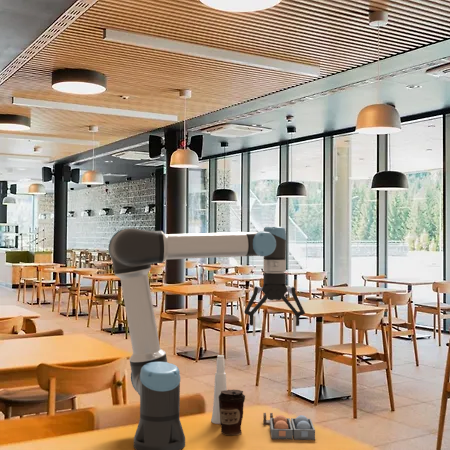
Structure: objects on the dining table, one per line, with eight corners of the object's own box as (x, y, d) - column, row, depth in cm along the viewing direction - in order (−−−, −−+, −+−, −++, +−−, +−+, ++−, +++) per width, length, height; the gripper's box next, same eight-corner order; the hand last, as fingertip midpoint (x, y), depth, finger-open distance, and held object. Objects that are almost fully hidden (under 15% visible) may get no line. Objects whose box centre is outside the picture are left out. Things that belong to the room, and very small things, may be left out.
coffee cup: (242, 438, 188) (242, 395, 188) (215, 436, 189) (215, 394, 190) (246, 429, 196) (247, 388, 197) (221, 428, 198) (221, 387, 198)
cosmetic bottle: (232, 421, 205) (233, 355, 206) (220, 425, 201) (221, 357, 201) (219, 417, 209) (219, 353, 210) (207, 421, 205) (207, 355, 205)
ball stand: (263, 424, 202) (263, 415, 202) (263, 421, 205) (263, 412, 205) (273, 424, 202) (273, 415, 202) (272, 421, 205) (272, 412, 205)
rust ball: (273, 431, 194) (273, 417, 194) (273, 426, 198) (273, 413, 198) (287, 431, 194) (287, 417, 194) (286, 427, 198) (286, 413, 198)
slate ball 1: (295, 431, 194) (295, 417, 194) (294, 427, 198) (294, 413, 198) (309, 431, 193) (309, 417, 193) (307, 427, 198) (307, 413, 198)
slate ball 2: (297, 437, 188) (297, 423, 188) (295, 433, 192) (295, 418, 192) (311, 437, 187) (311, 423, 188) (309, 433, 192) (309, 419, 192)
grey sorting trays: (271, 439, 187) (271, 429, 187) (269, 427, 199) (270, 418, 199) (315, 440, 186) (315, 430, 186) (310, 427, 199) (310, 418, 199)
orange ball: (274, 437, 188) (274, 423, 188) (274, 433, 192) (273, 418, 192) (289, 437, 188) (288, 422, 188) (288, 432, 192) (287, 418, 192)
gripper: (237, 272, 203) (237, 336, 203) (312, 273, 203) (312, 337, 202) (237, 271, 211) (237, 333, 210) (310, 272, 210) (310, 334, 209)
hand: (274, 335), depth 206 cm, fingers open, 13 cm apart
